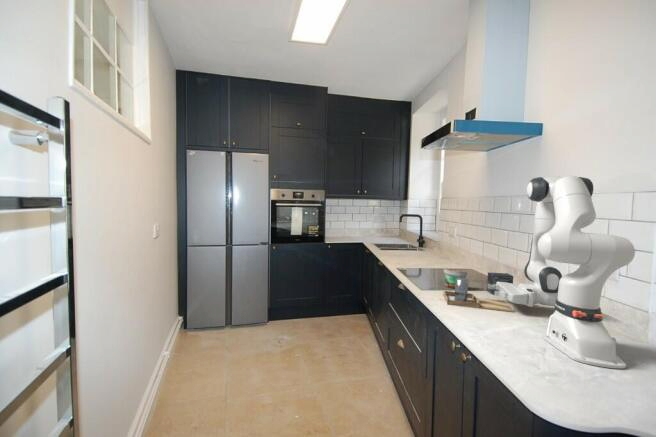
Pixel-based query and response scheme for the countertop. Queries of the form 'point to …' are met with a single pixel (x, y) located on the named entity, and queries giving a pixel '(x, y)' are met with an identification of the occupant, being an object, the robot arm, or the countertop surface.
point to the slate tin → (461, 289)
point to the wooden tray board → (478, 302)
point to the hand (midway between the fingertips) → (491, 289)
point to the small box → (498, 280)
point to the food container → (453, 277)
